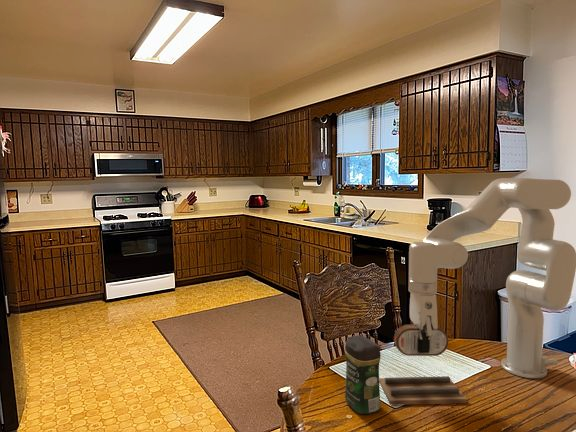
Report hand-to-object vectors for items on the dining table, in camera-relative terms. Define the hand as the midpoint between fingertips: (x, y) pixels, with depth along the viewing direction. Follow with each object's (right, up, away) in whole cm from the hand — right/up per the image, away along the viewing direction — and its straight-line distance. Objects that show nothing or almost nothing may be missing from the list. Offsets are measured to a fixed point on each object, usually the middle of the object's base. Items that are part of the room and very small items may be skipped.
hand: (421, 349), depth 113 cm
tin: (0, -2, 0) cm, 2 cm away
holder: (0, -13, +1) cm, 13 cm away
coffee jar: (-18, -14, -5) cm, 23 cm away
